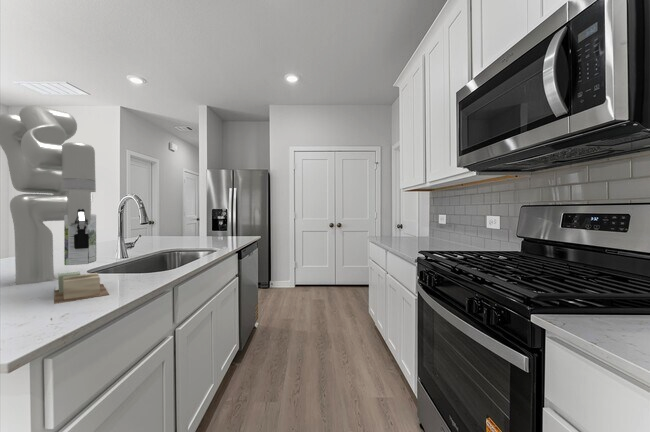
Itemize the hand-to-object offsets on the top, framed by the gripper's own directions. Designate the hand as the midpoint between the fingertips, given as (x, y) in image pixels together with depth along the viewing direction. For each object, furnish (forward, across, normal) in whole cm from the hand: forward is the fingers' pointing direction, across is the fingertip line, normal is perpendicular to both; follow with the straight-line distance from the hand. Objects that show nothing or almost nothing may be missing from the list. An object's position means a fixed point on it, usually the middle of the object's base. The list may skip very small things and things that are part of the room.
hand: (80, 246), depth 88 cm
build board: (+15, -2, 0) cm, 15 cm away
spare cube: (+14, -8, -3) cm, 16 cm away
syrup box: (+5, 0, 0) cm, 5 cm away
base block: (+14, 0, 0) cm, 14 cm away
